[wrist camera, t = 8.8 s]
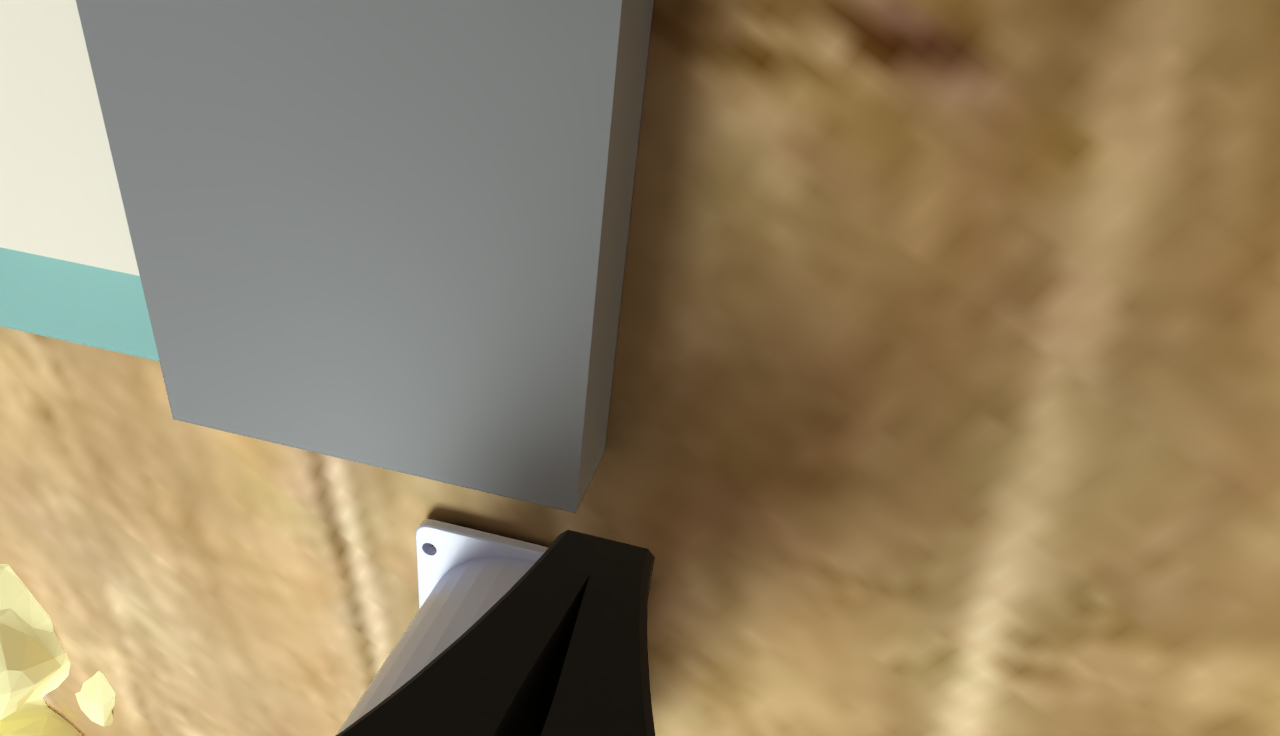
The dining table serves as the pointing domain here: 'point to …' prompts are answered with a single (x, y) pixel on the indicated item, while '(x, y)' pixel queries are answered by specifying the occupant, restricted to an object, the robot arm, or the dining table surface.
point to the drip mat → (75, 303)
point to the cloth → (38, 668)
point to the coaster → (56, 143)
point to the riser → (384, 222)
